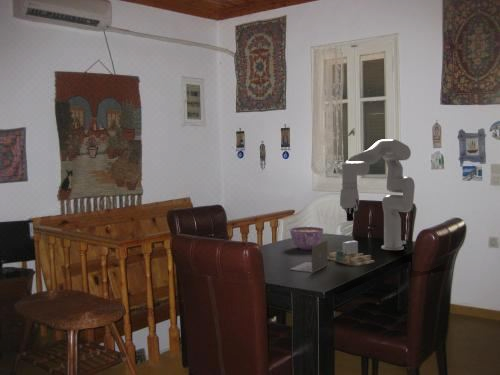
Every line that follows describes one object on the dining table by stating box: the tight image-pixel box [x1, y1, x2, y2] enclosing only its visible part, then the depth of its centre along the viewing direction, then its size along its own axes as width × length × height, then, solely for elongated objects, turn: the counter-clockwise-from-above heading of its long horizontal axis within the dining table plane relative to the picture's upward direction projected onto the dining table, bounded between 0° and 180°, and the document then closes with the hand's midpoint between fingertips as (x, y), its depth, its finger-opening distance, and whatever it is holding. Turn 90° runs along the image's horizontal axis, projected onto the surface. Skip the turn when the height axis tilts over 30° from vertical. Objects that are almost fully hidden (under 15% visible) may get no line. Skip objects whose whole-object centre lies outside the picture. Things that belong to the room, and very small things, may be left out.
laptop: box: [289, 240, 329, 274], centre depth 254 cm, size 18×12×13 cm
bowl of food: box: [289, 226, 324, 251], centre depth 303 cm, size 20×20×12 cm
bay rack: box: [328, 250, 375, 267], centre depth 268 cm, size 14×22×6 cm, turn 32°
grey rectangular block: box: [341, 240, 359, 256], centre depth 268 cm, size 3×8×9 cm, turn 122°
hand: (350, 220), depth 267 cm, fingers closed
